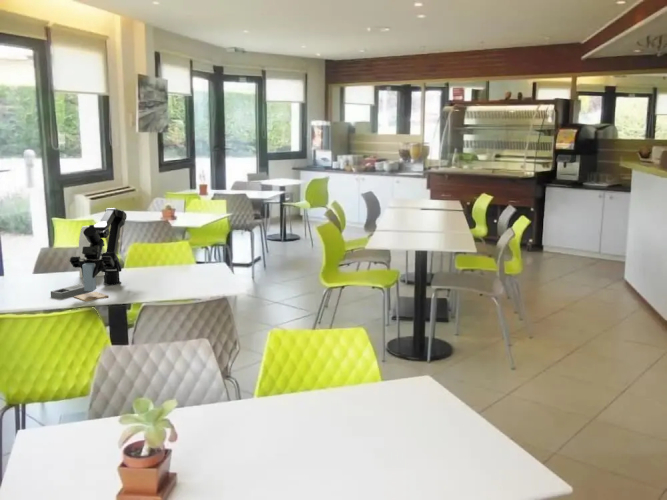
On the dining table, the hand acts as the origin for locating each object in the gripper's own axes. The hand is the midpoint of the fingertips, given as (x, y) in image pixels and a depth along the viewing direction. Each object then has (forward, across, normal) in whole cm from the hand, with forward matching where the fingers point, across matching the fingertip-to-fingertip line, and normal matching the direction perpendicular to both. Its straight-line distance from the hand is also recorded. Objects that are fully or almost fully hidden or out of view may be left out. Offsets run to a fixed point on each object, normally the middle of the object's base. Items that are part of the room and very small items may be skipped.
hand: (88, 277), depth 289 cm
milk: (-28, -18, +42) cm, 54 cm away
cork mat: (+6, 0, +8) cm, 10 cm away
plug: (+3, 0, +5) cm, 6 cm away
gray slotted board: (+1, -11, +13) cm, 17 cm away
